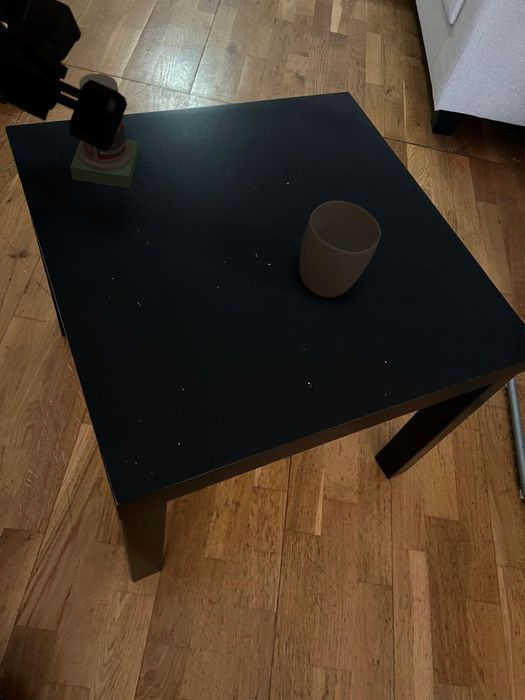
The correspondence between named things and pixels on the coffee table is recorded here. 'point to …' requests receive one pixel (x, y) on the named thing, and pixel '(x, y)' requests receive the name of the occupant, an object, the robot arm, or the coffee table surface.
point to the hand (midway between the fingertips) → (80, 114)
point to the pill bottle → (119, 140)
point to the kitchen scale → (106, 167)
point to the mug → (337, 247)
